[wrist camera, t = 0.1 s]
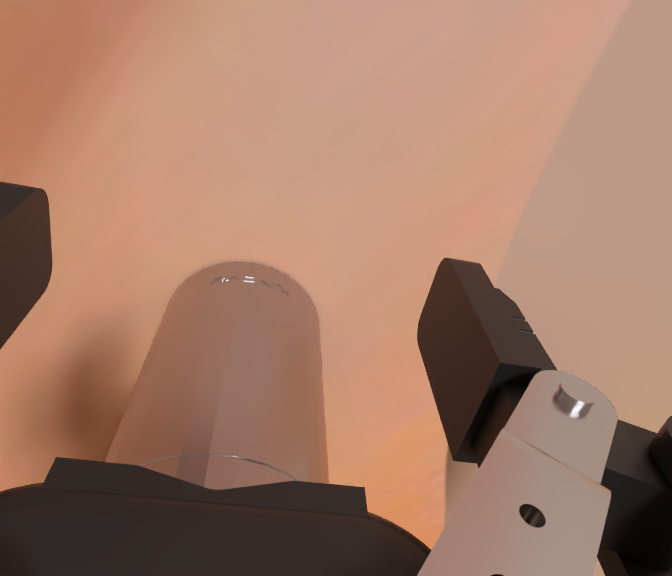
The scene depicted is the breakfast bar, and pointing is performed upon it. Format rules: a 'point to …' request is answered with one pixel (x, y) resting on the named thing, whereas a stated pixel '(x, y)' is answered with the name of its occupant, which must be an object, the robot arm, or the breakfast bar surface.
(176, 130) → the breakfast bar surface
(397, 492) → the breakfast bar surface
